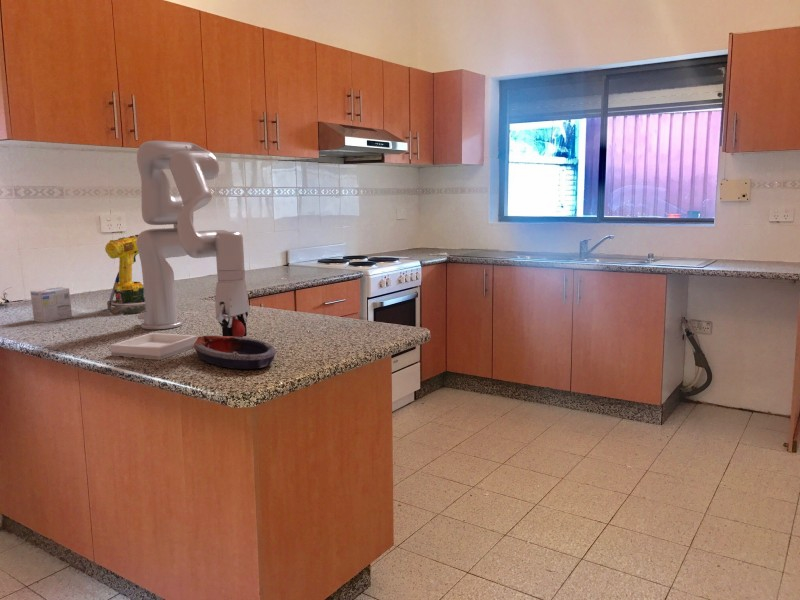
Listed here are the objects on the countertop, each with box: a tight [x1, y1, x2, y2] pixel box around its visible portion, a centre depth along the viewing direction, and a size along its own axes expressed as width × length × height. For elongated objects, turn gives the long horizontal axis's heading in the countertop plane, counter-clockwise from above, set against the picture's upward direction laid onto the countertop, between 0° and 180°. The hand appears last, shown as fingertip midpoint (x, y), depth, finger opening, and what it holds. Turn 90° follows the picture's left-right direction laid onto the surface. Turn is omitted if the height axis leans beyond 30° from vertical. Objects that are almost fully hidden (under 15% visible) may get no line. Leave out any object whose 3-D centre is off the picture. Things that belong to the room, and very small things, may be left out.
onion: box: [231, 316, 245, 337], centre depth 186 cm, size 6×6×8 cm
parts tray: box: [109, 332, 199, 361], centre depth 179 cm, size 16×16×3 cm
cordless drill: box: [104, 234, 146, 315], centre depth 244 cm, size 18×19×28 cm
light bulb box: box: [30, 286, 73, 324], centre depth 229 cm, size 11×7×11 cm, turn 149°
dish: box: [193, 335, 277, 370], centre depth 167 cm, size 16×31×5 cm, turn 43°
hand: (235, 337), depth 187 cm, fingers closed on onion, 5 cm apart
